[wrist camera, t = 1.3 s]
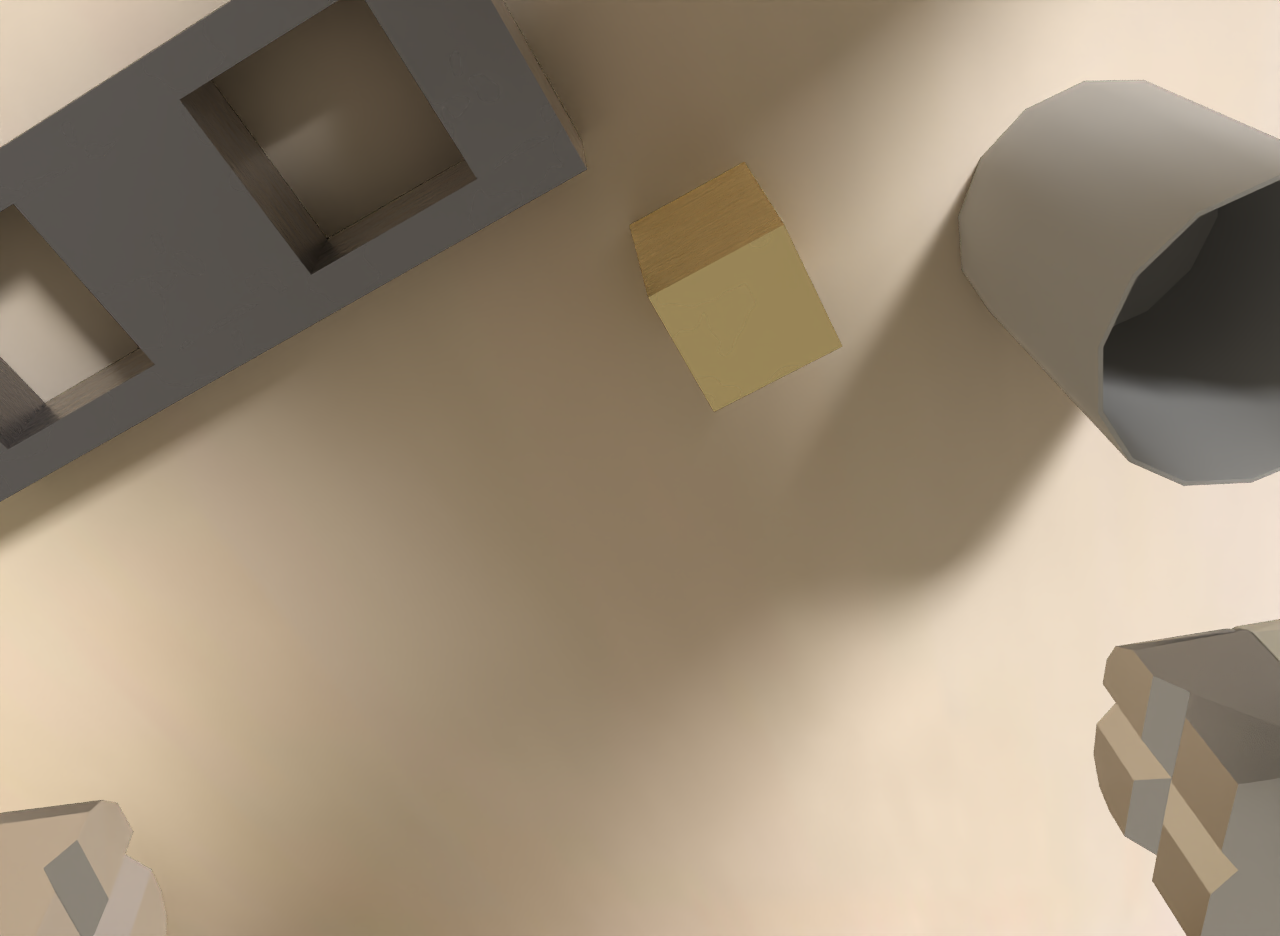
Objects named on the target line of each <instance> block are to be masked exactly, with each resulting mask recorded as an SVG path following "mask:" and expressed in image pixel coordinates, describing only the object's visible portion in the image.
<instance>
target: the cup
mask: <svg viewBox="0 0 1280 936" xmlns="http://www.w3.org/2000/svg"><path fill="white" fill-rule="evenodd" d="M958 222H959V236H960V251H961V265H962V271H963V273H964V274H965V276H966V277H967V279H968V280H969V282H970V283H971V285H972V286H973V288H974V289H975V291H976V292H977V294H978V295H979V297H980V298H981V300H982V301H983V303H984V304H985V306H986V307H987V309H988V310H989V311H990V312H991V313H992V315H993V316H994V317H995V318H996V319H997V320H998V321H999V322H1000V323H1001V324H1002V325H1003V326H1004V327H1005V329H1006V330H1007V331H1008V332H1009V333H1010V334H1011V335H1012V336H1013V337H1014V338H1015V339H1016V340H1017V341H1018V343H1019V344H1020V345H1021V346H1022V347H1023V348H1024V349H1025V350H1026V351H1027V352H1028V353H1029V354H1030V355H1031V357H1032V358H1033V359H1034V360H1035V361H1036V362H1037V363H1038V364H1039V365H1040V366H1041V367H1042V368H1043V369H1044V371H1045V372H1046V373H1047V374H1048V375H1049V376H1050V377H1051V378H1052V379H1053V380H1054V381H1055V382H1056V383H1057V385H1058V386H1059V387H1060V388H1061V389H1062V390H1063V391H1064V392H1065V393H1066V394H1067V395H1068V396H1069V397H1070V399H1071V400H1072V401H1073V402H1074V403H1075V404H1076V405H1077V406H1078V407H1079V408H1080V409H1081V410H1082V411H1083V413H1084V414H1085V415H1086V416H1087V417H1088V418H1089V419H1090V420H1091V421H1092V422H1093V423H1094V424H1095V425H1096V427H1097V428H1098V429H1099V430H1100V431H1101V432H1102V433H1103V434H1104V435H1105V436H1106V437H1107V438H1108V439H1109V441H1110V442H1111V443H1112V444H1113V445H1114V446H1115V447H1116V448H1117V449H1118V450H1119V451H1120V452H1121V453H1122V455H1123V456H1124V457H1125V458H1126V459H1127V460H1128V461H1129V462H1131V463H1133V464H1135V465H1138V466H1140V467H1142V468H1144V469H1147V470H1149V471H1151V472H1154V473H1156V474H1158V475H1160V476H1163V477H1165V478H1167V479H1170V480H1172V481H1174V482H1176V483H1179V484H1181V485H1183V486H1187V485H1209V484H1230V483H1251V482H1254V481H1256V480H1259V479H1261V478H1263V477H1266V476H1268V475H1271V474H1273V473H1275V472H1278V471H1280V139H1278V138H1275V137H1273V136H1271V135H1269V134H1266V133H1264V132H1262V131H1259V130H1257V129H1255V128H1253V127H1250V126H1248V125H1246V124H1243V123H1241V122H1239V121H1237V120H1234V119H1232V118H1230V117H1227V116H1225V115H1223V114H1221V113H1218V112H1216V111H1214V110H1211V109H1209V108H1207V107H1205V106H1202V105H1200V104H1198V103H1195V102H1193V101H1191V100H1189V99H1186V98H1184V97H1182V96H1179V95H1177V94H1175V93H1173V92H1170V91H1168V90H1166V89H1163V88H1161V87H1159V86H1157V85H1154V84H1152V83H1150V82H1147V81H1145V80H1108V81H1083V82H1081V83H1079V84H1077V85H1075V86H1073V87H1071V88H1069V89H1067V90H1064V91H1062V92H1060V93H1058V94H1056V95H1054V96H1052V97H1050V98H1048V99H1046V100H1044V101H1042V102H1040V103H1038V104H1035V105H1033V106H1031V107H1029V108H1027V109H1025V110H1024V111H1023V113H1022V114H1021V115H1020V116H1019V117H1018V118H1017V119H1016V120H1015V121H1014V122H1013V123H1012V124H1011V126H1010V127H1009V128H1008V129H1007V130H1006V131H1005V132H1004V133H1003V134H1002V135H1001V136H1000V137H999V139H998V140H997V141H996V142H995V143H994V144H993V145H992V146H991V147H990V148H989V149H988V150H987V152H986V153H985V154H984V155H983V156H982V157H981V158H980V160H979V163H978V165H977V168H976V171H975V173H974V176H973V179H972V181H971V184H970V186H969V189H968V192H967V194H966V197H965V199H964V202H963V205H962V207H961V210H960V212H959V215H958Z"/></svg>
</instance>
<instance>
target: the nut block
mask: <svg viewBox="0 0 1280 936" xmlns="http://www.w3.org/2000/svg"><path fill="white" fill-rule="evenodd" d="M630 229H631V233H632V237H633V241H634V244H635V248H636V252H637V256H638V260H639V264H640V268H641V272H642V276H643V279H644V283H645V287H646V291H647V295H648V298H649V300H650V302H651V303H652V305H653V307H654V309H655V310H656V312H657V314H658V316H659V317H660V319H661V321H662V322H663V324H664V326H665V328H666V329H667V331H668V333H669V335H670V336H671V338H672V340H673V342H674V343H675V345H676V347H677V349H678V350H679V352H680V354H681V356H682V357H683V359H684V361H685V363H686V364H687V366H688V368H689V370H690V371H691V373H692V375H693V376H694V378H695V380H696V382H697V383H698V385H699V387H700V389H701V390H702V392H703V394H704V396H705V397H706V399H707V401H708V403H709V404H710V406H711V408H712V410H713V411H714V412H715V411H717V410H719V409H721V408H723V407H725V406H727V405H729V404H731V403H733V402H735V401H736V400H738V399H740V398H742V397H744V396H746V395H748V394H750V393H752V392H754V391H756V390H758V389H760V388H762V387H764V386H766V385H768V384H770V383H772V382H774V381H776V380H778V379H780V378H782V377H783V376H785V375H787V374H789V373H791V372H793V371H795V370H797V369H799V368H801V367H803V366H805V365H807V364H809V363H811V362H813V361H815V360H817V359H819V358H821V357H823V356H825V355H827V354H829V353H830V352H832V351H834V350H836V349H838V348H840V347H842V344H841V342H840V340H839V338H838V336H837V334H836V332H835V330H834V328H833V326H832V324H831V322H830V319H829V317H828V315H827V313H826V311H825V309H824V307H823V305H822V303H821V301H820V299H819V297H818V294H817V292H816V290H815V288H814V286H813V284H812V282H811V280H810V278H809V276H808V274H807V272H806V270H805V267H804V265H803V263H802V261H801V259H800V257H799V255H798V253H797V251H796V249H795V247H794V245H793V242H792V240H791V238H790V236H789V234H788V232H787V230H786V228H785V226H784V224H783V222H782V221H781V219H780V218H779V216H778V214H777V213H776V211H775V210H774V208H773V207H772V205H771V203H770V202H769V200H768V199H767V197H766V195H765V194H764V192H763V191H762V189H761V188H760V186H759V184H758V183H757V181H756V180H755V178H754V176H753V175H752V173H751V172H750V170H749V169H748V167H747V165H746V164H745V162H743V163H741V164H739V165H738V166H736V167H734V168H732V169H730V170H728V171H727V172H725V173H723V174H721V175H719V176H718V177H716V178H714V179H712V180H710V181H709V182H707V183H705V184H703V185H701V186H699V187H698V188H696V189H694V190H692V191H690V192H689V193H687V194H685V195H683V196H681V197H680V198H678V199H676V200H674V201H672V202H671V203H669V204H667V205H665V206H663V207H661V208H660V209H658V210H656V211H654V212H652V213H651V214H649V215H647V216H645V217H643V218H642V219H640V220H638V221H636V222H634V223H632V224H631V225H630Z"/></svg>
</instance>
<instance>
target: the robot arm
mask: <svg viewBox="0 0 1280 936" xmlns="http://www.w3.org/2000/svg"><path fill="white" fill-rule="evenodd" d="M1103 685H1104V686H1105V688H1106V689H1107V691H1108V692H1109V694H1110V695H1111V696H1112V698H1113V699H1114V701H1115V702H1116V703H1115V704H1114V705H1113V707H1112V708H1111V709H1110V710H1109V711H1108V712H1107V713H1106V714H1105V715H1104V716H1103V718H1102V719H1101V720H1100V721H1099V722H1098V723H1097V725H1096V735H1095V745H1094V760H1095V765H1096V771H1097V776H1098V782H1099V787H1100V789H1101V792H1102V794H1103V797H1104V799H1105V801H1106V804H1107V806H1108V809H1109V811H1110V813H1111V815H1112V816H1113V818H1114V820H1115V821H1116V823H1117V825H1118V826H1119V828H1120V830H1121V831H1122V833H1123V835H1124V836H1125V837H1127V838H1129V839H1130V840H1132V841H1134V842H1135V843H1137V844H1139V845H1140V846H1142V847H1144V848H1146V849H1147V850H1149V851H1151V852H1152V853H1154V854H1156V855H1157V857H1156V862H1155V868H1154V873H1153V879H1152V881H1153V883H1154V884H1155V886H1156V888H1157V889H1158V891H1159V892H1160V894H1161V896H1162V897H1163V899H1164V900H1165V902H1166V903H1167V905H1168V907H1169V908H1170V910H1171V911H1172V913H1173V915H1174V916H1175V918H1176V919H1177V921H1178V922H1179V924H1180V926H1181V927H1182V929H1183V930H1184V932H1185V934H1186V935H1187V936H1280V619H1278V620H1272V621H1266V622H1260V623H1254V624H1248V625H1242V626H1236V627H1234V628H1233V629H1221V630H1215V631H1208V632H1202V633H1196V634H1190V635H1183V636H1177V637H1171V638H1165V639H1158V640H1152V641H1146V642H1140V643H1133V644H1127V645H1121V646H1115V648H1114V649H1113V651H1112V653H1111V654H1110V656H1109V657H1108V659H1107V661H1106V667H1105V673H1104V679H1103ZM132 834H133V830H132V828H131V826H130V824H129V822H128V821H127V819H126V817H125V815H124V813H123V812H122V810H121V808H120V806H119V804H118V803H116V802H110V801H105V800H98V801H90V802H83V803H75V804H67V805H59V806H51V807H43V808H35V809H27V810H20V811H12V812H4V813H0V936H166V928H167V915H166V910H165V905H164V901H163V896H162V891H161V889H160V886H159V884H158V882H157V880H156V878H155V875H154V873H153V871H152V869H150V868H148V867H146V866H145V865H143V864H141V863H139V862H138V861H136V860H134V859H132V858H131V857H129V856H127V855H125V853H126V851H127V848H128V845H129V842H130V840H131V837H132Z"/></svg>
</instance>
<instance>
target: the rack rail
mask: <svg viewBox="0 0 1280 936" xmlns="http://www.w3.org/2000/svg"><path fill="white" fill-rule="evenodd" d="M336 1H338V0H231V1H229V2H227V3H226V4H224V5H223V6H221V7H220V8H218V9H216V10H215V11H213V12H212V13H210V14H209V15H207V16H206V17H204V18H202V19H201V20H199V21H198V22H196V23H195V24H193V25H191V26H190V27H188V28H187V29H185V30H184V31H182V32H180V33H179V34H177V35H176V36H174V37H173V38H171V39H169V40H168V41H166V42H165V43H163V44H162V45H160V46H159V47H157V48H155V49H154V50H152V51H151V52H149V53H148V54H146V55H144V56H143V57H141V58H140V59H138V60H137V61H135V62H133V63H132V64H130V65H129V66H127V67H126V68H124V69H122V70H121V71H119V72H118V73H116V74H115V75H113V76H112V77H110V78H108V79H107V80H105V81H104V82H102V83H101V84H99V85H97V86H96V87H94V88H93V89H91V90H90V91H88V92H86V93H85V94H83V95H82V96H80V97H79V98H77V99H76V100H74V101H72V102H71V103H69V104H68V105H66V106H65V107H63V108H61V109H60V110H58V111H57V112H55V113H54V114H52V115H50V116H49V117H47V118H46V119H44V120H43V121H41V122H39V123H38V124H36V125H35V126H33V127H32V128H30V129H29V130H27V131H25V132H24V133H22V134H21V135H19V136H18V137H16V138H14V139H13V140H11V141H10V142H8V143H7V144H5V145H3V146H2V147H0V212H1V211H2V210H4V209H5V208H7V207H9V206H10V205H12V204H14V205H15V206H16V208H17V209H18V210H19V211H20V212H21V213H22V214H23V216H24V217H25V218H26V219H27V220H28V221H29V222H30V224H31V225H32V226H33V227H34V228H35V229H36V230H37V231H38V233H39V234H40V235H41V236H42V237H43V238H44V239H45V241H46V242H47V243H48V244H49V245H50V246H51V247H52V249H53V250H54V251H55V252H56V253H57V254H58V255H59V256H60V258H61V259H62V260H63V261H64V262H65V263H66V264H67V266H68V267H69V268H70V269H71V270H72V271H73V272H74V273H75V275H76V276H77V277H78V278H79V279H80V280H81V281H82V283H83V284H84V285H85V286H86V287H87V288H88V289H89V291H90V292H91V293H92V294H93V295H94V296H95V297H96V298H97V300H98V301H99V302H100V303H101V304H102V305H103V306H104V308H105V309H106V310H107V311H108V312H109V313H110V314H111V316H112V317H113V318H114V319H115V320H116V321H117V322H118V323H119V325H120V326H121V327H122V328H123V329H124V330H125V331H126V333H127V334H128V335H129V336H130V337H131V338H132V339H133V340H134V342H135V343H136V344H137V345H138V346H139V347H140V348H139V349H137V350H136V351H134V352H132V353H130V354H129V355H127V356H125V357H124V358H122V359H120V360H118V361H117V362H115V363H113V364H111V365H110V366H108V367H106V368H105V369H103V370H101V371H99V372H98V373H96V374H94V375H93V376H91V377H89V378H87V379H86V380H84V381H82V382H81V383H79V384H77V385H75V386H74V387H72V388H70V389H68V390H67V391H65V392H63V393H62V394H60V395H58V396H56V397H55V398H53V399H51V400H50V401H48V402H46V403H44V402H43V401H42V400H41V399H40V398H39V397H38V396H37V395H36V393H35V392H34V391H33V390H32V389H31V388H30V387H29V386H28V385H27V384H26V383H25V382H24V381H23V380H22V379H21V378H20V377H19V376H18V375H17V374H16V373H15V372H14V371H13V370H12V369H11V368H10V367H9V365H8V364H7V363H6V362H5V361H4V360H3V359H2V358H1V357H0V501H2V500H4V499H6V498H8V497H9V496H11V495H13V494H15V493H16V492H18V491H20V490H22V489H23V488H25V487H27V486H29V485H30V484H32V483H34V482H36V481H38V480H39V479H41V478H43V477H45V476H46V475H48V474H50V473H52V472H53V471H55V470H57V469H59V468H60V467H62V466H64V465H66V464H68V463H69V462H71V461H73V460H75V459H76V458H78V457H80V456H82V455H83V454H85V453H87V452H89V451H90V450H92V449H94V448H96V447H98V446H99V445H101V444H103V443H105V442H106V441H108V440H110V439H112V438H113V437H115V436H117V435H119V434H121V433H122V432H124V431H126V430H128V429H129V428H131V427H133V426H135V425H136V424H138V423H140V422H142V421H143V420H145V419H147V418H149V417H151V416H152V415H154V414H156V413H158V412H159V411H161V410H163V409H165V408H166V407H168V406H170V405H172V404H173V403H175V402H177V401H179V400H181V399H182V398H184V397H186V396H188V395H189V394H191V393H193V392H195V391H196V390H198V389H200V388H202V387H203V386H205V385H207V384H209V383H211V382H212V381H214V380H216V379H218V378H219V377H221V376H223V375H225V374H226V373H228V372H230V371H232V370H233V369H235V368H237V367H239V366H241V365H242V364H244V363H246V362H248V361H249V360H251V359H253V358H255V357H256V356H258V355H260V354H262V353H263V352H265V351H267V350H269V349H271V348H272V347H274V346H276V345H278V344H279V343H281V342H283V341H285V340H286V339H288V338H290V337H292V336H293V335H295V334H297V333H299V332H301V331H302V330H304V329H306V328H308V327H309V326H311V325H313V324H315V323H316V322H318V321H320V320H322V319H324V318H325V317H327V316H329V315H331V314H332V313H334V312H336V311H338V310H339V309H341V308H343V307H345V306H346V305H348V304H350V303H352V302H354V301H355V300H357V299H359V298H361V297H362V296H364V295H366V294H368V293H369V292H371V291H373V290H375V289H376V288H378V287H380V286H382V285H384V284H385V283H387V282H389V281H391V280H392V279H394V278H396V277H398V276H399V275H401V274H403V273H405V272H406V271H408V270H410V269H412V268H414V267H415V266H417V265H419V264H421V263H422V262H424V261H426V260H428V259H429V258H431V257H433V256H435V255H436V254H438V253H440V252H442V251H444V250H445V249H447V248H449V247H451V246H452V245H454V244H456V243H458V242H459V241H461V240H463V239H465V238H466V237H468V236H470V235H472V234H474V233H475V232H477V231H479V230H481V229H482V228H484V227H486V226H488V225H489V224H491V223H493V222H495V221H497V220H498V219H500V218H502V217H504V216H505V215H507V214H509V213H511V212H512V211H514V210H516V209H518V208H519V207H521V206H523V205H525V204H527V203H528V202H530V201H532V200H534V199H535V198H537V197H539V196H541V195H542V194H544V193H546V192H548V191H549V190H551V189H553V188H555V187H557V186H558V185H560V184H562V183H564V182H565V181H567V180H569V179H571V178H572V177H574V176H576V175H578V174H579V173H581V172H583V171H585V170H587V166H586V160H585V155H584V149H583V144H582V140H581V138H580V136H579V135H578V133H577V131H576V129H575V128H574V126H573V124H572V122H571V120H570V119H569V117H568V115H567V113H566V112H565V110H564V108H563V106H562V104H561V103H560V101H559V99H558V97H557V96H556V94H555V92H554V90H553V88H552V87H551V85H550V83H549V81H548V80H547V78H546V76H545V74H544V72H543V71H542V69H541V67H540V65H539V64H538V62H537V60H536V58H535V57H534V55H533V53H532V51H531V49H530V48H529V46H528V44H527V42H526V41H525V39H524V37H523V35H522V33H521V32H520V30H519V28H518V26H517V25H516V23H515V21H514V19H513V17H512V16H511V14H510V12H509V10H508V9H507V7H506V5H505V3H504V1H503V0H365V1H366V3H367V5H368V6H369V8H370V9H371V11H372V12H373V14H374V16H375V17H376V19H377V20H378V22H379V24H380V25H381V27H382V28H383V30H384V32H385V33H386V35H387V36H388V38H389V40H390V41H391V43H392V44H393V46H394V48H395V49H396V51H397V52H398V54H399V55H400V57H401V59H402V60H403V62H404V63H405V65H406V67H407V68H408V70H409V71H410V73H411V75H412V76H413V78H414V79H415V81H416V83H417V84H418V86H419V87H420V89H421V90H422V92H423V94H424V95H425V97H426V98H427V100H428V102H429V103H430V105H431V106H432V108H433V110H434V111H435V113H436V114H437V116H438V118H439V119H440V121H441V122H442V124H443V125H444V127H445V129H446V130H447V132H448V133H449V135H450V137H451V138H452V140H453V141H454V143H455V145H456V146H457V148H458V149H459V151H460V153H461V154H462V156H463V157H464V160H462V161H461V162H459V163H457V164H456V165H454V166H452V167H450V168H449V169H447V170H445V171H444V172H442V173H440V174H438V175H437V176H435V177H433V178H431V179H430V180H428V181H426V182H425V183H423V184H421V185H419V186H418V187H416V188H414V189H413V190H411V191H409V192H407V193H406V194H404V195H402V196H401V197H399V198H397V199H395V200H394V201H392V202H390V203H388V204H387V205H385V206H383V207H382V208H380V209H378V210H376V211H375V212H373V213H371V214H370V215H368V216H366V217H364V218H363V219H361V220H359V221H358V222H356V223H354V224H352V225H351V226H349V227H347V228H345V229H344V230H342V231H340V232H339V233H337V234H335V235H333V236H332V237H330V238H328V239H327V238H326V237H325V236H324V234H323V233H322V231H321V230H320V229H319V227H318V226H317V225H316V223H315V222H314V220H313V219H312V218H311V216H310V215H309V214H308V212H307V211H306V209H305V208H304V207H303V205H302V204H301V203H300V201H299V200H298V198H297V197H296V196H295V194H294V193H293V192H292V190H291V189H290V188H289V186H288V185H287V183H286V182H285V181H284V179H283V178H282V177H281V175H280V174H279V172H278V171H277V170H276V168H275V167H274V166H273V164H272V163H271V161H270V160H269V159H268V157H267V156H266V155H265V153H264V152H263V150H262V149H261V148H260V146H259V145H258V144H257V142H256V141H255V139H254V138H253V137H252V135H251V134H250V133H249V131H248V130H247V129H246V127H245V126H244V124H243V123H242V122H241V120H240V119H239V118H238V116H237V115H236V113H235V112H234V111H233V109H232V108H231V107H230V105H229V104H228V102H227V101H226V100H225V98H224V97H223V96H222V94H221V93H220V91H219V90H218V89H217V87H216V86H215V85H214V83H213V82H212V81H211V80H212V79H213V78H215V77H217V76H218V75H220V74H221V73H223V72H225V71H226V70H228V69H229V68H231V67H233V66H234V65H236V64H237V63H239V62H241V61H242V60H244V59H245V58H247V57H249V56H250V55H252V54H253V53H255V52H257V51H258V50H260V49H261V48H263V47H264V46H266V45H268V44H269V43H271V42H272V41H274V40H276V39H277V38H279V37H280V36H282V35H284V34H285V33H287V32H288V31H290V30H292V29H293V28H295V27H296V26H298V25H300V24H301V23H303V22H304V21H306V20H308V19H309V18H311V17H312V16H314V15H316V14H317V13H319V12H320V11H322V10H324V9H325V8H327V7H328V6H330V5H332V4H333V3H335V2H336Z"/></svg>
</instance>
